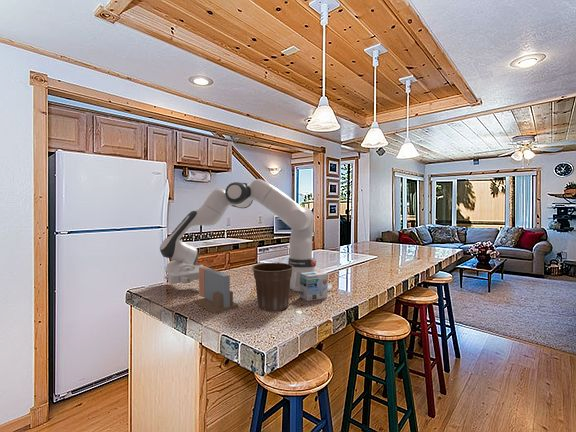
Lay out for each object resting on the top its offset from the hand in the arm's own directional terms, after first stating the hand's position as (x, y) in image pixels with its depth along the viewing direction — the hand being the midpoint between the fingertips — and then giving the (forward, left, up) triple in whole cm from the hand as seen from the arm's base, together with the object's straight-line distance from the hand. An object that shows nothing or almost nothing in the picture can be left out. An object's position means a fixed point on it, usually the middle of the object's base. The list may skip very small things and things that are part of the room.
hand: (198, 278), depth 143 cm
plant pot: (-36, +4, -8) cm, 37 cm away
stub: (-5, +4, -6) cm, 9 cm away
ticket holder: (-14, +9, -8) cm, 19 cm away
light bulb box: (-49, -13, -8) cm, 51 cm away
